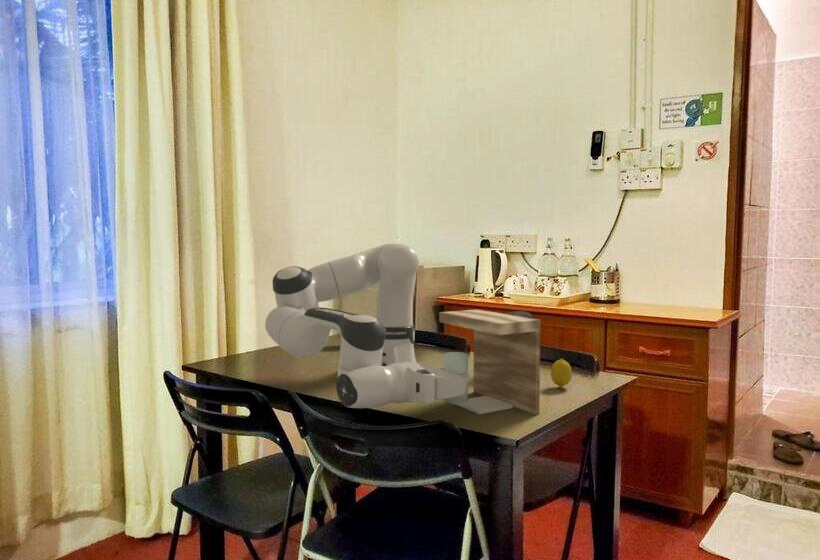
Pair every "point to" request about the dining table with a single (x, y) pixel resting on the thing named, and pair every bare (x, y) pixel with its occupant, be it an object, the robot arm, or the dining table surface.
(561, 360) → the lemon
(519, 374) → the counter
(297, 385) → the dining table surface
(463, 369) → the pale green cylinder
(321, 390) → the dining table surface
